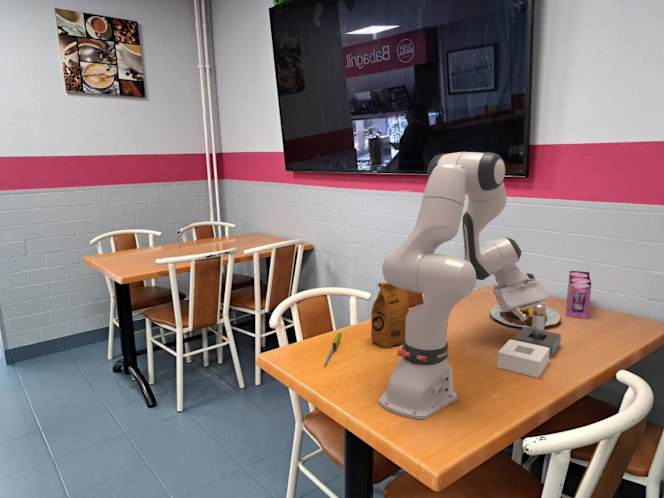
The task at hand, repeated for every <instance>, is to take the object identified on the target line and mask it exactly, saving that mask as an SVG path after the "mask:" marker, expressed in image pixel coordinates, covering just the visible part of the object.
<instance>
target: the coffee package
mask: <svg viewBox="0 0 664 498" xmlns="http://www.w3.org/2000/svg"><path fill="white" fill-rule="evenodd" d="M377 286H378V287H379V291H378V294H377V296H376V299H375V300H374V303H373V305H372V307H371V308H372V309H371V313H370V314H371V316H370V317H371V332H370V333H371V334H370V338H371V340H372V342H373V343H374V344H377V345H378V346H380V347H382V348H385V349H389V348H391V347H393V346H400V345H403V343H404V340H405V318H406V315H407V313H408V311H409V310H410V303H409V301H410V300H409V295H408V293H407V290H402V289H399V288H397V287H395V286H393V285H390V284H388V283H387V282H379V283H378V284H377Z"/></svg>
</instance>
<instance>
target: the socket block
mask: <svg viewBox="0 0 664 498" xmlns="http://www.w3.org/2000/svg"><path fill="white" fill-rule="evenodd" d="M531 336H532V328H527V327H521V329H520V330H519V331H518V332H517V334H515V336H513V338H512V340H516V341H521V342H525V343H530V344H535V345H539V346H544V347H548V348H550V353H549V359H552V358H553V357H555V356H554V355H555V354H556V352H557V351H558V350H559V348H560V346H561V339H562V338H561V337H562V334H560V333H556V332H551V331H547V330H544V335H543V340H540V339H535V338H531Z"/></svg>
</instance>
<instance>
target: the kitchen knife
mask: <svg viewBox="0 0 664 498" xmlns="http://www.w3.org/2000/svg"><path fill="white" fill-rule="evenodd" d="M341 339H342V332H337V333H336V335H335V338H334V340H333V341H332V346H331V349H330V351H329V354H328V355H327V357H326V360H325V362H324V364H323V365H324V366H325V367H326V366H328V364H329V362H330V360H331V359H332V356H333V355H334V352H335V351H337V350H338V344H339V343H340V342H341V341H340V340H341Z"/></svg>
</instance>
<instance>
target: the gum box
mask: <svg viewBox="0 0 664 498" xmlns="http://www.w3.org/2000/svg"><path fill="white" fill-rule="evenodd" d="M590 274H591V273H590V272H589V271H581V270H579V271H578V270H569V273H568V283H567V294H566V308H565V310H566V315H565V316H566V317H569V318H576V319H583V320H588V319H589V314H590V302H591V291H592V281H591V276H590Z"/></svg>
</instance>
